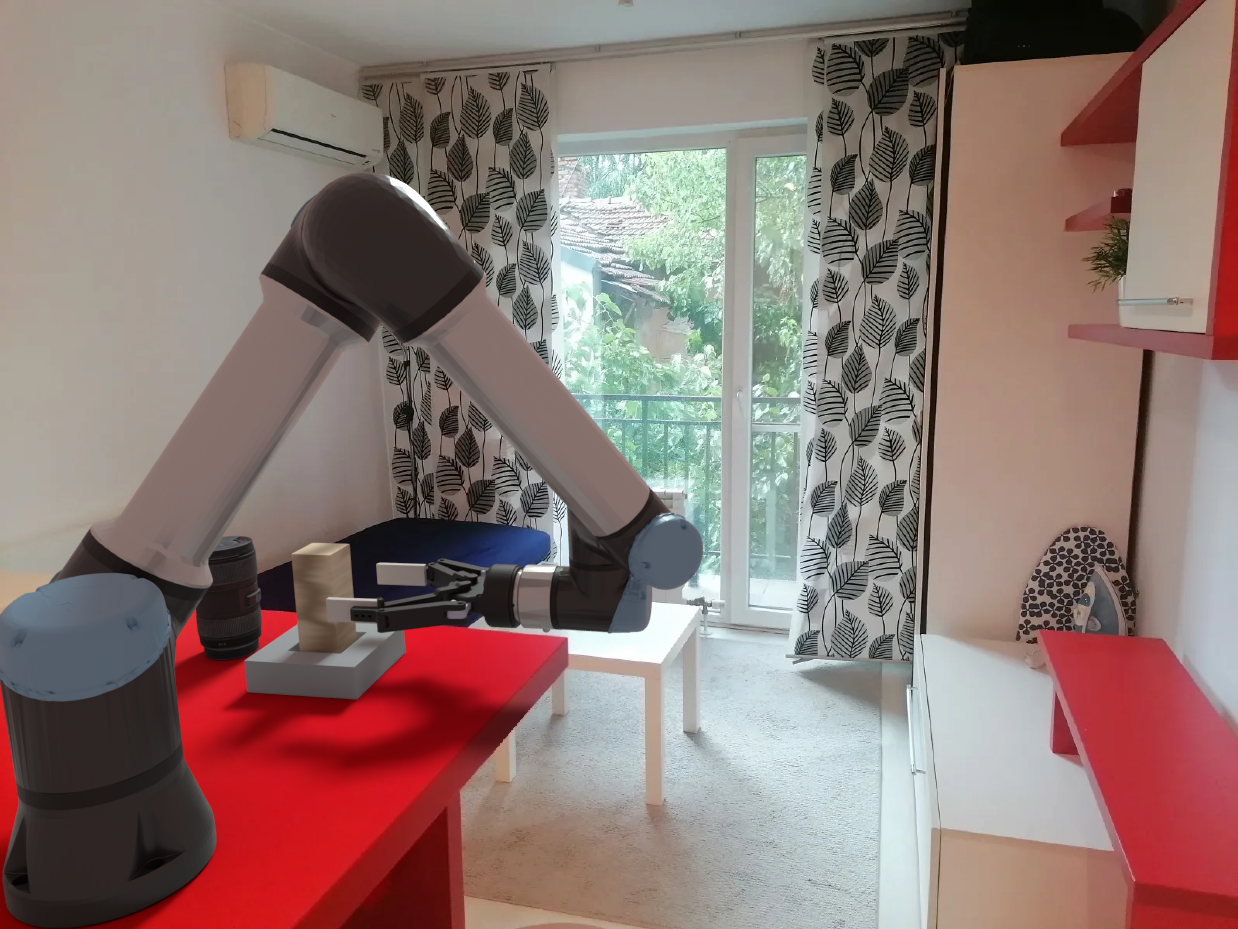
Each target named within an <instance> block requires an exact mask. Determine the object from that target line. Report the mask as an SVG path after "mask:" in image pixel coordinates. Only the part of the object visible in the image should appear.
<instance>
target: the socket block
mask: <svg viewBox="0 0 1238 929" xmlns="http://www.w3.org/2000/svg"><path fill="white" fill-rule="evenodd" d="M356 637H357V641H356V642H354V643H353V644H352V645H351V646H350V647H348V648H347V649H346V650H345V651H343V652H342V653H341V654H336V653H318V652H301V651H300V647H299V635H298V624H297V623H296V625H294V626H293V627H291V628H290V629H288V630H287V631H285V632H283V634H281V635H279V636H278V637H277V638H275V639H274V640H272V641H271V642H270V643H268V644H267V645H265V646H264V647H262V648H261V649H258V650H257V651H255V652H254V654H253V653H252V654H251V655H250V656H249V657H247V658H246V659H245V660H243V661H244V670H245V671H244V672H245V682H246V692H247V693H256V694H270V695H287V696H301V697H313V698H314V697H316V698H327V699H329V698H332V699H333V698H334V699H345V700H346V699H347V700H358V699H359V698H361V696H362V695H363V694H364V693H366V691H367V690H369V688H370V687H372V685H373V684H375V683H376V681H377V680H379V679H380V678H381V677H382V676H383V675H384V674H385V673H386V672H387V671H388V670H389V669H390V668H391V667H392V666H393V665H394V664H395V663H396V662H397V661H398V660H399V659H400V658H401V657H402V656H403V655H405V654H406V642H405V630H402V631H394V632H386V633H379V632H377V624H371V623H356Z"/></svg>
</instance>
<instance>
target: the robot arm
mask: <svg viewBox="0 0 1238 929" xmlns="http://www.w3.org/2000/svg"><path fill="white" fill-rule="evenodd" d="M278 245H279V246H277V248H276V250H275V251H274V253H273V254H272V256H271V257H270V259H269V261H268V262H267V263H266V265H265V266H264V267H263V269H262V271H261V272H260V274H259V276H258V280H259V285H260V287H261V292H262V295H263V297H262V302H261V304H260V305H259V307H258V308H257V310H255V313H254V314H253V316H252V317H251V319H250V321H249V322H248V323H247V325H246V326H245V328H244V329H243V331H242V332H241V334H240V336H239V337H238V338H237V339H236V341H235V343H234V345H232V347H231V349H230V351H229V352H228V354H226V356H225V358H224V359H223V361H222V362H221V364H220V366H219V367H218V369H217V370H216V371H215V373H214V374H213V376H212V378H211V379H210V380H209V382H208V383H207V384H206V386H205V388H204V389H203V391H202V392H201V394H200V395H199V397H198V398H197V399H196V401H195V402H194V404H193V405H192V407H191V409H190V410H189V412H188V413H187V415H186V416H185V418H184V419H183V421H182V422H181V424H180V425H179V427H178V428H177V429H176V431H175V433H174V434H173V436H172V437H171V439H170V440H169V442H167V445H166V446H165V448H164V449H163V451H162V452H161V454H160V455H159V457H158V458H157V460H156V462H154V464H153V465H152V467H151V469H150V470H149V471H148V472H147V475H145V478H143V481H142V482H141V484H140V485H139V486H138V488H137V490H136V491H135V492H134V494H133V495H132V497H131V498H130V500H129V502H128V503H127V505H126V506H125V508H124V509H123V511H122V512H121V514H119V515H117V516H116V517H112V518H107V519H103V520H99V521H95V522H93V524H92V525H91V526H90V528H89V529H88V531H87V532H86V534H85V535H84V536H83V538H82V539H81V541H80V542H79V544H78V545H77V547H76V548H75V550H74V551H73V553H72V555H70V557H69V558H68V560H67V562H66V563H65V565H64V566H63V567H62V568H61V570H59V571H58V572H57V571H56V573H55V574H54V576H52V578H51V579H50V580H49V582H48V583H46V584H43V585H41V586H38V587H37V588H36V589H35V591H32V592H26V593H23V594H22V595H20V596H18V597H17V598H16V599H14V600H13V601H12V602H10V603H9V604H8V605H7V606H6V607H4V609H3V610H2V611H1V613H0V692H1V697H2V703H3V710H4V717H5V722H6V723H5V724H6V730H7V736H8V742H9V749H10V755H11V756H10V757H11V759H12V760H11V761H12V766H13V774H14V779H15V786H16V793H17V799H18V806H17V808H16V810H17V811H16V814H15V818H14V823H13V827H12V832H11V834H10V839H9V843H8V847H7V852H6V856H5V861H4V864H3V868H2V886H3V891H4V892H3V893H4V898H5V906H6V908H7V910H8V912H9V913H10V914H11V916H13V917H14V918H15V919H16V920H18V921H20V922H22V923H24V924H27V925H31V926H34V927H39V928H40V927H41V928H45V929H47V928H48V929H49V928H50V929H65V928H66V929H67V928H69V929H70V928H76V927H77V928H78V927H86V926H90V925H96V924H100V923H104V922H108V921H111V920H115V919H118V918H122V917H124V916H127V915H131V914H132V913H136V912H137V911H141V910H143V909H145V908H147V907H149V906H151V905H153V904H155V903H157V902H159V901H161V900H163V899H165V898H166V897H169V896H170V895H171V894H173V893H175V892H176V891H178V890H180V889H182V887H184V886H185V885H186V884H188V883H189V882H190V881H191V880H192V879H194V878H195V877H196V876H197V875H198V874H199V873H200V872H201V871H202V870H203V869H204V868H205V866H206V865H207V864H208V863H209V861H210V859H211V858H212V857H213V855H214V852H215V850H216V847H217V831H216V824H215V822H216V821H215V817H214V816H215V814H214V813H213V809H212V807H211V805H210V803H209V802H208V799H207V798H206V797H205V794H204V793H203V791H202V789H201V787H200V784H199V783H198V781H197V779H196V778H195V776H194V774H193V772H192V770H191V768H190V767H189V765H188V764H187V762H186V759H185V755H184V746H183V738H182V730H181V728H182V727H181V721H180V711H179V703H178V694H177V685H176V670H175V667H176V666H175V664H176V663H175V662H176V651H177V650H176V649H177V639H178V637H179V636H180V634H181V632H182V631H183V629H184V628H185V626H186V624H187V623H188V621H189V620H190V618H191V616H192V615H193V614H194V613H195V612H196V607H197V606H198V604H199V603H200V601H201V600H202V598H203V596H204V595H205V593H206V592H207V590H208V589H209V587H210V586H211V584H212V582H213V579H212V575H211V572H210V569H209V566H208V558H209V557H210V555H211V554H212V552H213V551H214V549H215V548H216V546H217V545H218V543H219V542H220V540H221V539H222V537H224V535H225V534H226V532H227V531H228V530H229V527H230V526H231V524H232V523H233V522H234V521H235V518H236V517H237V516H238V514H239V513H240V511H241V510H242V508H243V506H244V505H245V504H246V502H247V500H248V499H249V497H250V495H252V493H253V491H254V490H255V488H256V486H257V485H258V484H259V482H260V481H261V479H262V477H263V476H264V475H265V473H266V471H267V470H268V468H269V466H270V465H271V463H272V462H273V460H274V458H275V457H276V456H277V454H278V453H279V451H280V450H281V448H282V446H283V445H284V444H285V442H286V441H287V439H288V437H289V436H290V434H292V432H293V430H294V428H295V427H296V425H297V424H298V422H299V421H300V419H301V418H302V416H303V415H304V414H305V412H306V410H307V408H308V407H309V405H310V404H311V402H312V401H313V399H314V397H315V396H316V395H317V393H318V392H319V390H320V388H321V387H322V385H323V384H324V382H325V380H326V379H327V378H328V376H329V375H330V373H331V371H332V370H333V368H334V367H335V366H336V364H337V362H338V361H339V359H340V358H341V356H342V355H343V353H345V352H346V351H348V350H351V349H357V348H363V347H366V346H368V344H369V343H370V341H372V339H373V337H374V335H375V334H376V332H377V331H378V329H379V328H380V326H381V325H384V326H385V328H387V329H388V330H389V331H390V332H391V333H392V334H393V335H394V336H395V338H397V340H398V341H399V342H400V343H401V344H402V345H403V346H404V347H412V348H413V347H415V348H421V349H422V350H423V351H424V352H425V353H426V354H427V356H428V357H430V358H431V360H432V361H434V362H433V363H435V364H436V365H437V366H438V368H439V369H440V370H442V372H443V373H444V374H445V375H446V376H447V378H448V379H450V380H451V382H452V383H453V384H454V385H455V386H456V387H457V388H458V389H459V390H460V391H461V392H462V394H464V396H465V397H466V398H467V399H468V400H469V401H470V402H471V403H472V404H473V405H474V406H475V407H476V409H477V410H478V411H479V412H480V413H481V414H482V415H483V416H484V417H485V418H486V420H488V422H489V423H490V424H491V425H492V426H493V427H494V428H495V430H497V432H498V433H499V434H500V435H501V437H503V438H504V439H505V441H507V442H508V443H509V445H510V446H511V447H512V448H513V449H514V450H515V451H516V453H517V454H518V455H520V456H521V458H522V459H523V460H524V461H525V462H526V463H527V464H528V466H530V468H532V470H533V471H534V472H535V473H536V474H537V475H538V476H539V477H540V479H542V480H543V482H544V483H545V484H546V485H547V486H548V487H549V488H550V489H551V490H552V491H553V492H554V494H555V495H556V496H557V498H559V499H560V500H561V501H562V503H563V504H565V505H566V513H567V514H566V515H567V516H566V518H567V519H566V520H567V521H566V522H567V538H568V541H567V542H568V566H566V565H556V564H555V565H554V564H553V565H551V564H526V565H525V566H524V567H522V566H521V565H520V564H507V563H505V564H504V563H503V564H502V563H501V564H500V563H495V564H492V565H490V567H486V566H485V567H483V566H478V565H473V564H469V563H466V562H460V561H456V560H453V559H452V560H451V559H447V558H440V559H437V562H430V563H428V564H426V563H403V562H402V563H400V562H399V563H398V562H378V563H376V577H377V578H376V579H377V580H376V581H377V585H385V586H386V585H391V586H392V585H393V586H413V587H414V586H418V587H426V586H427V585H428V587H429V589H431V588H435V590H434V591H433V592H432V593H427V594H421V595H416V596H411V597H406V598H400V599H395V600H391V601H385V599H384V598H383V597H382V596H379V597H377V598H365V597H364V598H359V597H358V598H357V597H354V598H338V597H328V598H327V599H326V608H327V620H328V622H348V623H371V624H377V632H379V633H386V632H394V631H402V630H404V631H410V630H416V629H418V630H419V629H424V628H432V627H433V628H434V627H441V626H463V625H467V623H468V619H467V618H468V617H467V616H471V615H474V614H481V615H482V617H483V619H484V621H485V623H486V625H488V627H490V628H500V629H501V628H502V629H517V628H518V627H520V626H521V627H522V628H524V629H531V630H532V629H533V630H534V629H536V630H537V629H539V630H542V632H544V633H549V632H550V631H551V630H559V631H561V630H563V631H565V630H567V631H580V632H592V633H593V632H594V633H607V634H609V635H610V634H621V633H622V634H623V633H624V634H626V633H627V634H628V633H629V634H630V633H639V632H642V631H645V629H647V628H648V626H649V623H650V620H651V616H652V609H653V607H652V606H653V589H655V590H661V591H669V590H674V589H675V590H676V589H677V588H680V587H682V586H684V585H686V584H687V583H688V582H689V581H691V579H692V578H693V576H695V574H696V573H697V572H698V570H699V568H700V566H701V564H702V560H703V557H704V556H703V555H704V543H703V539H702V536H701V533H700V532H699V530H698V529H697V527H696V526H695V525H694V524H693V523H691V522H690V521H689V520H687V519H686V518H685V516H683V515H682V514H678V513H677V512H676V513H675V512H673V511H671V509H669V507H667V505H666V504H665V503H664V501H662V500H661V498H660V497H659V496H658V495H657V493H656V492H655V491H654V490H653V489H652V488H651V487H650V486H649V485H648V484H647V482H646V481H645V479H643V477H642V476H641V475H640V474H639V472H638V471H637V470H636V469H635V468H634V466H633V465H632V464H631V462H629V461H628V459H627V458H626V457H625V456H624V455H623V454H622V452H621V451H620V450H619V449H618V448H617V446H616V445H615V444H614V443H613V441H612V440H611V439H610V438H609V437H608V435H607V434H606V433H605V432H604V431H603V430H602V428H600V426H599V425H598V424H597V422H596V421H595V420H594V419H593V417H591V415H590V414H589V412H588V411H586V409H585V408H584V407H583V406H582V405H581V403H580V402H579V401H578V400H577V398H576V397H575V396H574V395H573V394H572V392H570V390H569V389H568V388H567V387H566V385H565V384H564V383H563V381H561V380H560V378H559V377H558V376H557V375H556V373H554V371H553V370H552V369H551V367H550V366H549V365H548V364H547V362H545V361H544V359H543V358H542V357H541V356H540V355H539V353H538V352H537V351H536V349H534V348H533V346H532V345H531V344H530V343H529V341H528V340H527V339H526V338H525V336H524V335H523V334H522V333H521V332H520V331H519V330H518V328H517V327H516V326H515V325H514V324H513V322H512V321H511V320H510V319H509V317H508V316H507V315H506V314H505V313H504V312H503V309H501V308H500V307H499V305H497V303H496V302H495V301H494V300H493V298H492V297H491V296H490V295H489V293H488V292H487V289H486V288H487V273H486V272H485V271H484V270H483V269H482V267H481V266H480V265H479V263H478V262H477V261H476V260H475V259H474V258H473V256H472V255H471V254H470V253H469V252H468V250H467V249H466V248H465V247H464V245H463V244H462V243H461V241H460V240H459V239H458V238H457V236H456V235H455V234H454V232H453V231H452V230H451V229H450V228H449V226H448V225H447V224H446V223H445V221H444V220H443V219H442V218H441V217H440V216H439V214H438V213H437V212H436V210H435V209H433V207H432V206H431V205H430V204H429V203H428V202H427V200H425V198H423V197H422V196H421V195H420V194H419V193H418V192H417V191H416V190H415V189H413V188H412V187H411V186H409V185H408V184H406V183H405V182H403V181H400V180H399V179H397V178H394V177H393V176H389V175H388V174H383V173H378V172H373V171H362V172H354V173H348V174H346V175H343V176H340V177H338V178H335V179H334V180H332V181H330V182H329V183H328V184H326V185H325V186H324V187H323V188H321V190H320V191H318V193H316V194H315V195H313V196H312V197H310V198H309V199H308V200H307V201H306V202H305V203H303V205H302V206H301V207H300V209H299V210H298V212H297V213H296V215H295V216H294V217H293V220H292V222H291V224H290V229H289V230H288V232H287V233H286V235H285V236H284V237H283V239H282V241H281V243H280V244H278ZM436 587H437V588H436Z"/></svg>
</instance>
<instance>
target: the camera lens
mask: <svg viewBox="0 0 1238 929" xmlns="http://www.w3.org/2000/svg"><path fill="white" fill-rule="evenodd" d="M208 566H209V569H210V572H211V575H212V579H213V582H212V584H211V586H210V587H209V589H208V590H207V592H206V593H205V595H204V596H203V598H202V600H201V601H200V603H199V604H198V606H197V607H196V609H195V619H196V620H195V621H196V629H197V633H198V637H199V642H200V645H201V646H202V647H203V652H204V656H205V657H206V658H208V659H210V660H216V661H229V660H235V659H236V660H237V659H240V658H244V657H247V656H249V655H253V653H256V652H257V651H258V650H259V647H260V640H259V639H260V638H261V637H262V634H263V633H262V624H263V618H262V609H261V605H260V601H261V600H262V591H261V587H260V588H259V586H258V578H259V577H258V559H257V552H256V548H255V545H254V541H253V538H251V537H250V536H245V535H229V536H223V537H222V539H221V540H220V542H219V543H218V545H217V546H216V548H215V549H214V551H213V552H212V554H211V555H210V557H209V558H208Z"/></svg>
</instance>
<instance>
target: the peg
mask: <svg viewBox="0 0 1238 929" xmlns="http://www.w3.org/2000/svg"><path fill="white" fill-rule="evenodd" d="M290 556H291V566H292V575H293V589H294V599H295V611H296V620H297V623H296V625H297V624H298V635H299V647H300V651H301V652H318V653H336V654H341V653H342V652H343V651H345V650H346V649H347V648H348V647H350V646H351V645H352V644H353V643H354V642H356V641H357V637H356V623H348V622H328V620H327V608H326V599H327V598H328V597H338V598H355V597H354V596H355V595H354V586H353V574H352V573H353V572H352V560H351V559H352V558H351V545H350V543H330V542H327V543H326V542H310V543H309V544H307V545H305V546H304V547H302V548H300V549H298V550H296V551H294V552H292V553H291V555H290Z"/></svg>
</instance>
